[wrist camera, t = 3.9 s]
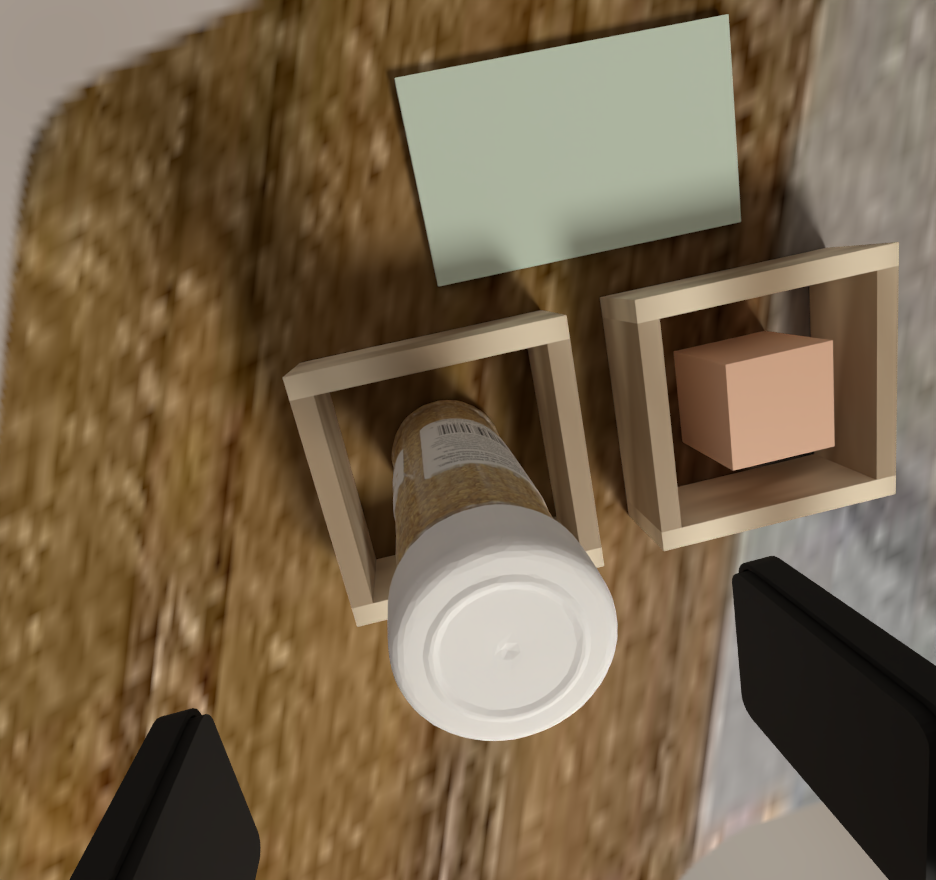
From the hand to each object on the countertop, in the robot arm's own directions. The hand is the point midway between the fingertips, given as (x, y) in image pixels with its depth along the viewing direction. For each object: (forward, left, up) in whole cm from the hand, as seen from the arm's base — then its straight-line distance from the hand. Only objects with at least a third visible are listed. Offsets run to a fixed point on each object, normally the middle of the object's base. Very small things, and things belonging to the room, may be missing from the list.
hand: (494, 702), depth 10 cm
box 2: (-12, 0, -14) cm, 19 cm away
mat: (-7, -10, -14) cm, 19 cm away
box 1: (0, 0, -14) cm, 14 cm away
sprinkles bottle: (0, 0, -15) cm, 15 cm away
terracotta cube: (-12, 0, -15) cm, 19 cm away
